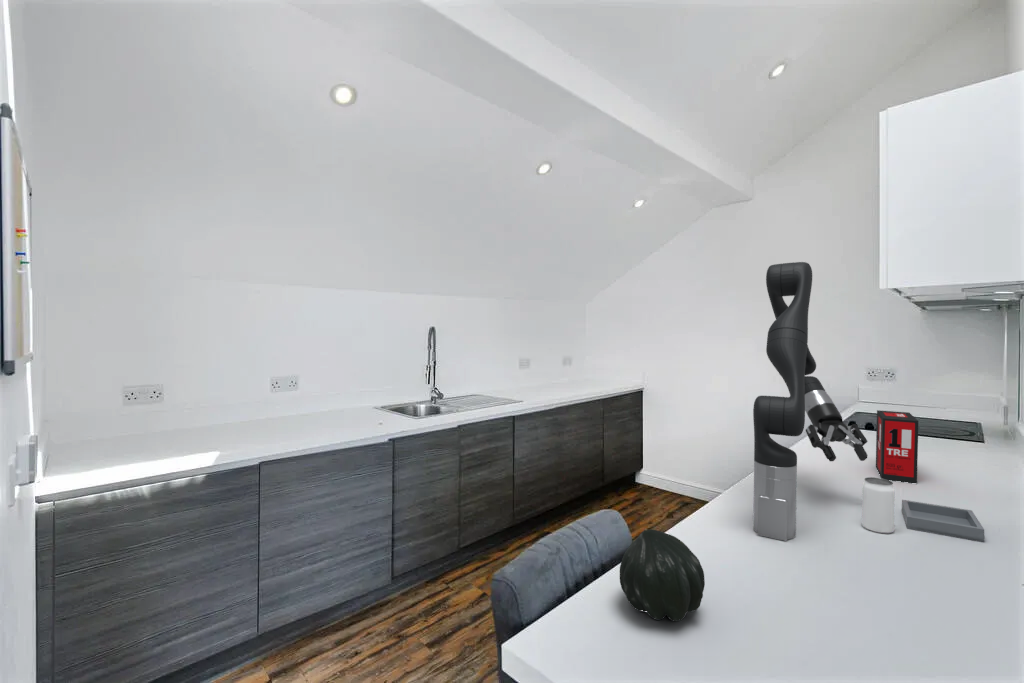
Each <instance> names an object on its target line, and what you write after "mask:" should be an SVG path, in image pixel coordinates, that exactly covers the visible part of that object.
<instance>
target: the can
mask: <svg viewBox="0 0 1024 683" xmlns="http://www.w3.org/2000/svg"><path fill="white" fill-rule="evenodd" d="M893 482H894V481H889V480H886V479H882V478H881V477H875V476H874V477H872V476H869V477H865V478H864V481H863V483H862V489H861V490H862V491H861V492H862V493H861V526H862V527H863V528H864V529H865V530H867V531H870V532H872V533H877V534H885V535H887V534H892V533H893V532H894V531H895V506H896V504H895V502H896V489H895V486H894V485H893V484H894V483H893Z"/></svg>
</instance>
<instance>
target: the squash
mask: <svg viewBox="0 0 1024 683" xmlns="http://www.w3.org/2000/svg"><path fill="white" fill-rule="evenodd" d="M705 580H706V579H705V572H704V568H703V566H702V565H701V562H700V560H699V558H698V557H697V556H696V554H695V553H694V552H692V550H691V549H690V548H689V547H688V546H687V545H686V544H685V543H684V541H682V540H680V539H679V538H678V537H676V536H674V535H672V534H669V533H667V532H664V531H660V530H657V529H648V528H645V529H643V531H641V532H640V533H639V534H638V536H637V538H636V539H635V540H634V541H633V542H632V543H631V544H630V545H629V546H628V548H627V549H626V550H625V552H624V554H623V556H622V559H621V562H620V566H619V583H620V586H621V590H622V592H623V594H624V595H625V597H626V600H627V601H628V603H629V604H630V606H631V607H633V609H635V608H636V609H635V610H637V609H638V610H637V611H639V610H643V611H647V612H646V613H647V614H648V615H649V617H651V618H652V617H653V618H652V619H654V618H655V619H661V620H663V619H664V618H665V617H666V616H667V618H668V619H669V618H670V619H669V620H671V621H672V620H674V621H673V622H680V621H682V620H684V618H685V617H686V614H687V613H691V612H695V611H697V610H698V609H699V607H700V606H701V602H702V599H703V598H704V594H703V593H704V590H705V582H706V581H705ZM663 617H664V618H663ZM655 619H654V620H655Z"/></svg>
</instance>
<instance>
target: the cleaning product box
mask: <svg viewBox="0 0 1024 683" xmlns="http://www.w3.org/2000/svg"><path fill="white" fill-rule="evenodd" d="M875 434H876V435H875V436H876V439H875V440H876V441H875V468H876V470H878V471H877V472H879V473H878V475H879V474H880V475H879V476H880V477H879V478H882V479H886V480H892V481H891V482H896V481H901V482H900V483H904V482H908V483H907V484H912V483H917V484H918V453H919V452H918V451H919V449H918V447H919V420H918V419H917V418H916V417H915V416H913V414H912V413H911V412H907V411H906V412H905V411H894V410H891V411H890V410H878V409H877V410H876V433H875Z"/></svg>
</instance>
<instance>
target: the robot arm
mask: <svg viewBox="0 0 1024 683" xmlns="http://www.w3.org/2000/svg"><path fill="white" fill-rule="evenodd" d="M765 276H766V277H765V283H766V290H767V294H768V298H769V302H770V304H771V308H772V311H773V314H774V317H775V320H774V321H773V322H772V324H771V325H770V327H769V328H768V332H767V338H766V339H767V340H766V350H765V351H766V355H767V357H768V358H767V359H768V360H769V361H770V363H771V364H772V366H773V368H775V370H776V371H777V372H778V374H779V375H780V376H781V378H782V379H783V382H784V383H785V385H786V387H787V389H788V392H789V396H778V395H776V396H775V395H758V396H757V397H756V398H755V399H754V403H753V409H752V410H753V411H752V414H753V415H752V416H753V433H754V434H753V435H754V436H753V437H754V438H753V439H754V440H753V442H754V447H753V448H754V449H753V450H754V451H753V515H752V517H753V518H752V519H753V520H752V521H753V522H752V524H753V526H752V527H753V530H754V531H755V532H756V533H757V536H761V537H765V538H771V539H775V540H779V541H785V542H787V541H788V540H791V539H794V538H795V537H796V536H797V483H798V481H797V476H798V475H797V474H798V456H797V453H796V452H795V451H794V450H793V449H791V448H789V447H787V446H784V445H782V444H780V443H778V442H776V441H775V440H774V439H773V438H771V436H770V435H773V436H777V435H778V436H787V437H799V436H801V435H802V433H803V432H804V429H805V424H806V423H805V422H806V415H807V417H808V418H809V420H810V423H811V424H809V425H808V426H807V428H806V429H805V433H806V435H807V437H808V439H809V442H810V444H811V446H812V447H813V448H814V449H816V448H819V449H820V450H821V451H822V452H823V454H824V456H825V459H827V460H829V462H834V461H836V460H837V456H836V454H835V452H834V450H833V448H832V447H831V445H830V443H834V442H838V443H839V442H842V443H843V444H845V445H849V446H850V447H852V448H853V450H854V452H855V454H856V455H857V458H858V459H859V461H861V462H863V461H866V460H867V459H868V453H867V451H866V449H865V448H864V445H865V444H867V443H868V439H867V438H866V437H865V435H864V433H863V432H862V431H861V429H860V427H859V426H858V425H857V424H855V423H853V424H852V425H846V424H845V423H844V421H843V416H842V414H841V413H840V411H839V409H838V408H837V406H836V404H835V402H834V401H833V399H832V398H831V396H830V395H829V394H828V393H827V391H826V389H825V387H824V386H823V384H822V383H821V380H819V379H818V378H817V377H815V376H809V375H811V374H813V373H814V372H815V370H816V369H817V362H816V360H815V358H814V357H813V355H812V353H811V350H810V349H809V345H808V342H809V341H808V340H809V338H808V337H809V336H808V335H809V308H810V301H811V293H812V286H813V269H812V267H811V265H810V263H809V262H806V261H805V262H804V261H795V262H786V263H776V264H771V265H769V266H768V268H767V270H766V275H765ZM783 297H793V299H792V301H791V302H790V304H787V303H786V301H785V300H784V298H783ZM819 435H820V436H821V439H820V436H819ZM847 437H848V438H847Z"/></svg>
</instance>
